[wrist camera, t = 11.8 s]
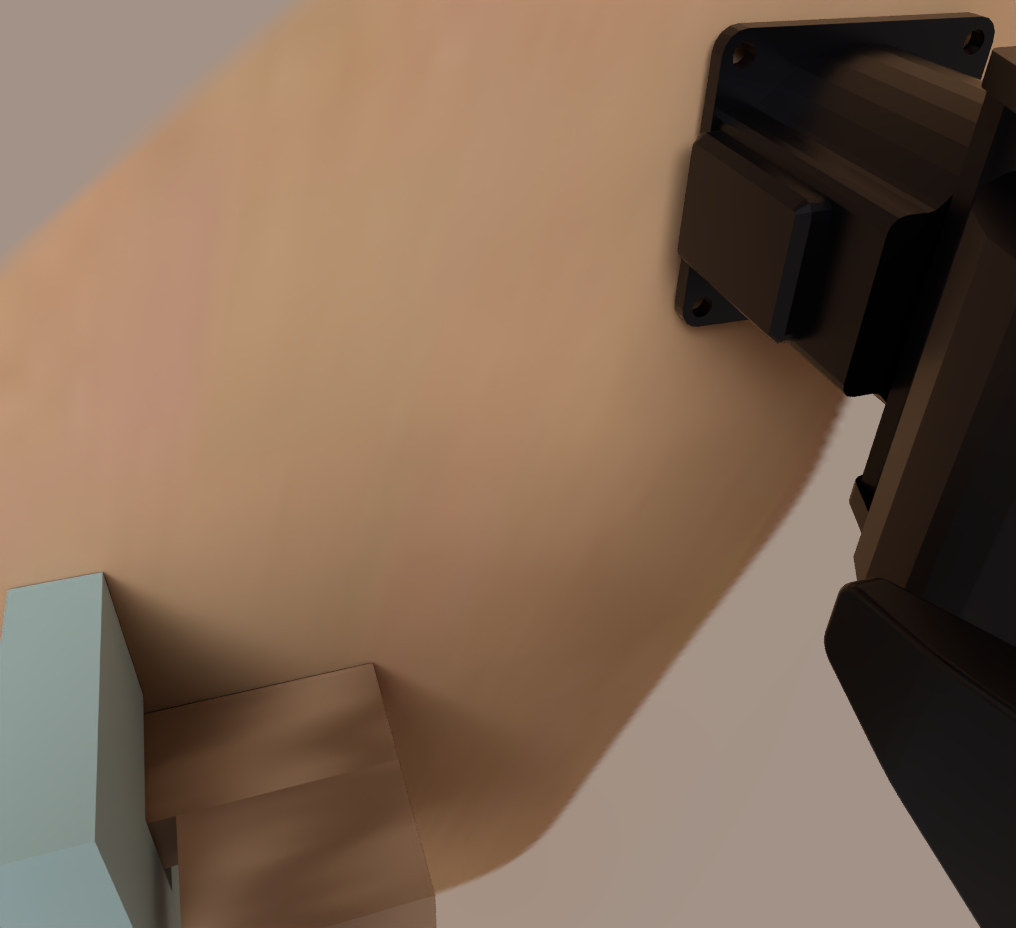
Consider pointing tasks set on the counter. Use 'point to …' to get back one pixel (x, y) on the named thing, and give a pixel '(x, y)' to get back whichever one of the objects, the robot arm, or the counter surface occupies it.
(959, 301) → the robot arm
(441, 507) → the counter surface
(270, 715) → the walnut slotted plate
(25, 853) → the teal slotted plate
